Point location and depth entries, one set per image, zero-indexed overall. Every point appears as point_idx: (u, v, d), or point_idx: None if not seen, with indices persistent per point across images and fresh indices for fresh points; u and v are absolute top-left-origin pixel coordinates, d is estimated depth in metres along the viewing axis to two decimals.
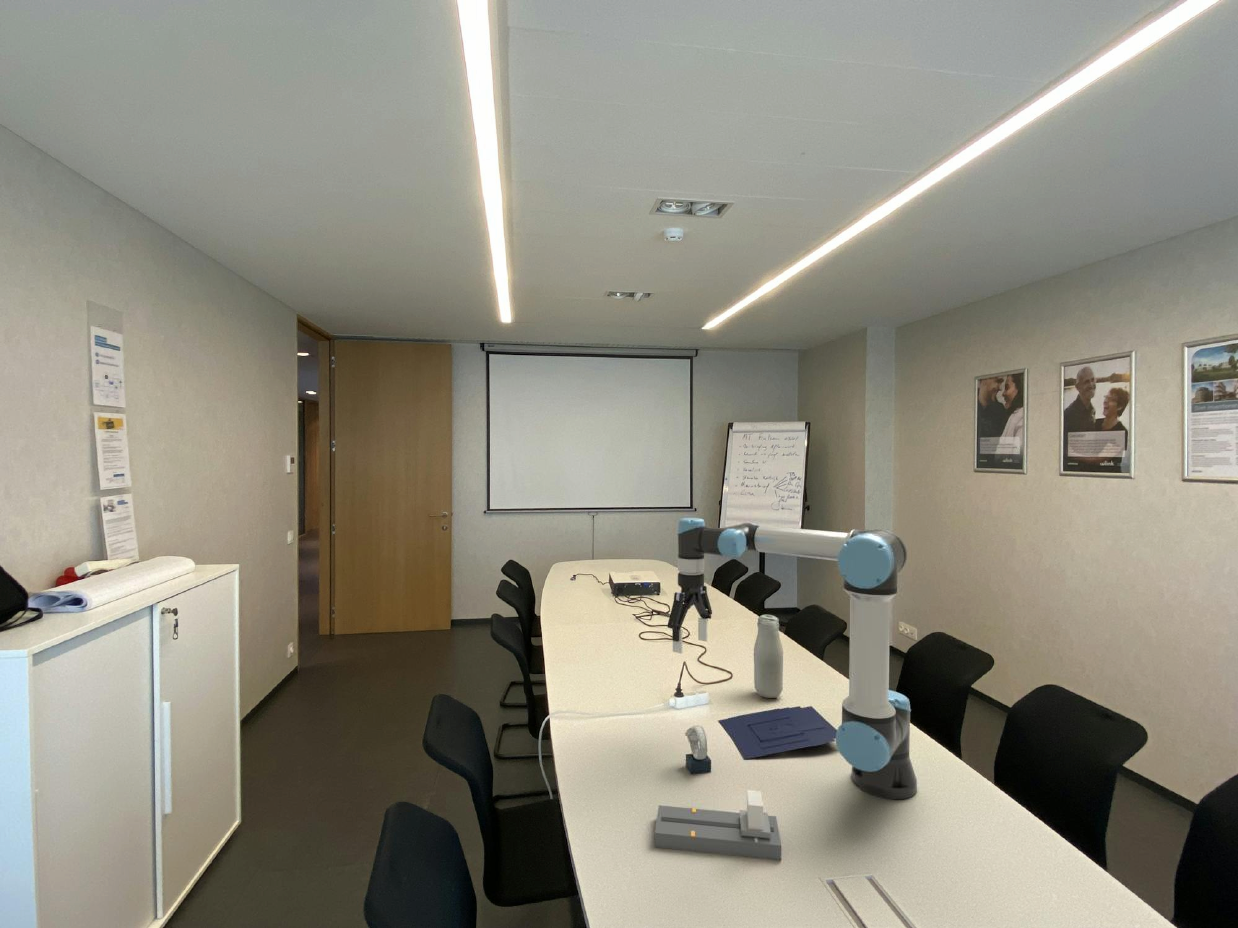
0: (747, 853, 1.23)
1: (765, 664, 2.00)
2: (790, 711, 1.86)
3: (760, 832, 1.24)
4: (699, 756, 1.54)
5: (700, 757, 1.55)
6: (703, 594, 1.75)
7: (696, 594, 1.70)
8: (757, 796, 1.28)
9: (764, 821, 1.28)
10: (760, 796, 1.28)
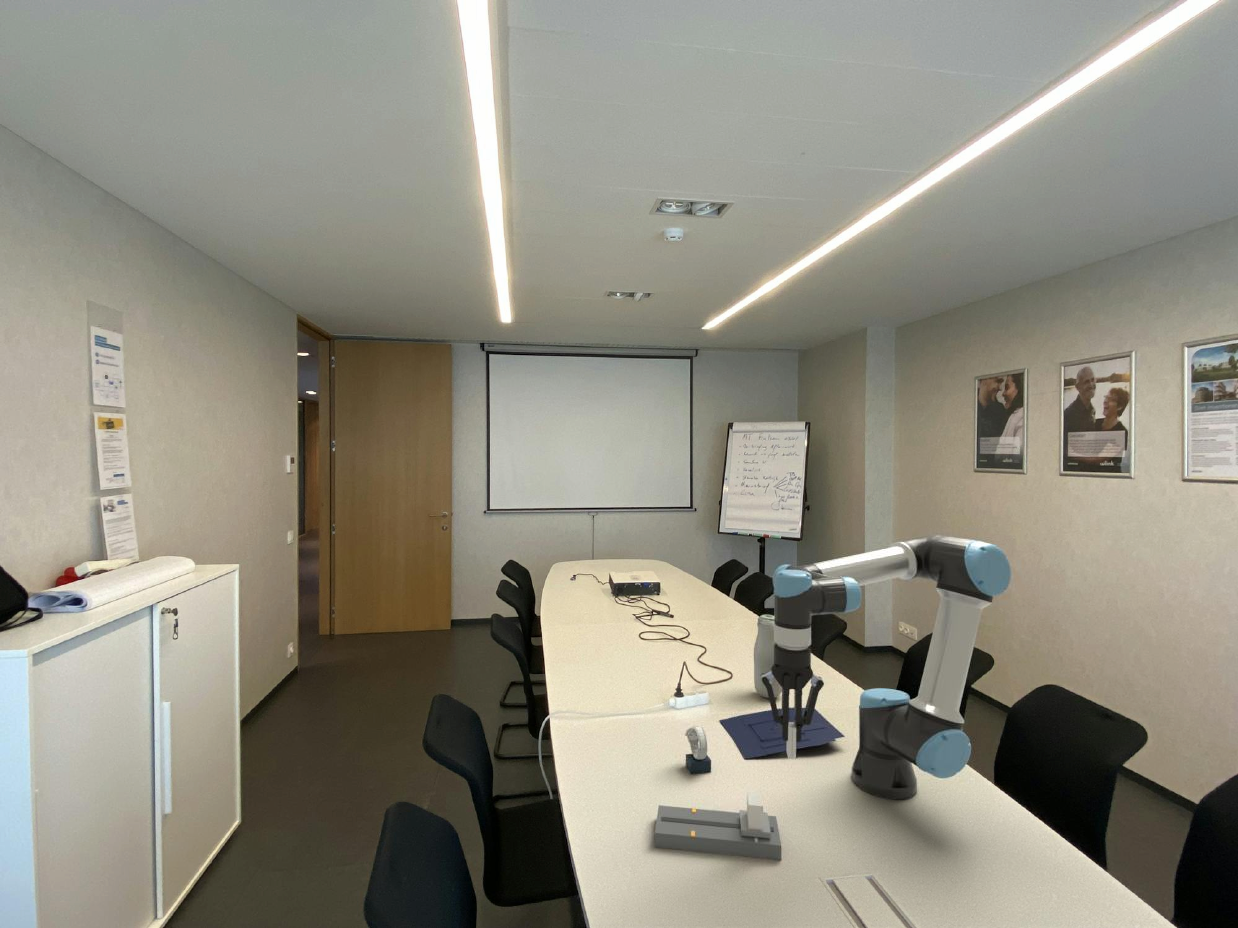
0: (747, 853, 1.23)
1: (765, 664, 2.00)
2: (791, 711, 1.86)
3: (760, 832, 1.24)
4: (699, 756, 1.54)
5: (700, 757, 1.55)
6: (813, 688, 1.25)
7: (797, 675, 1.24)
8: (757, 796, 1.28)
9: (764, 821, 1.28)
10: (760, 796, 1.28)
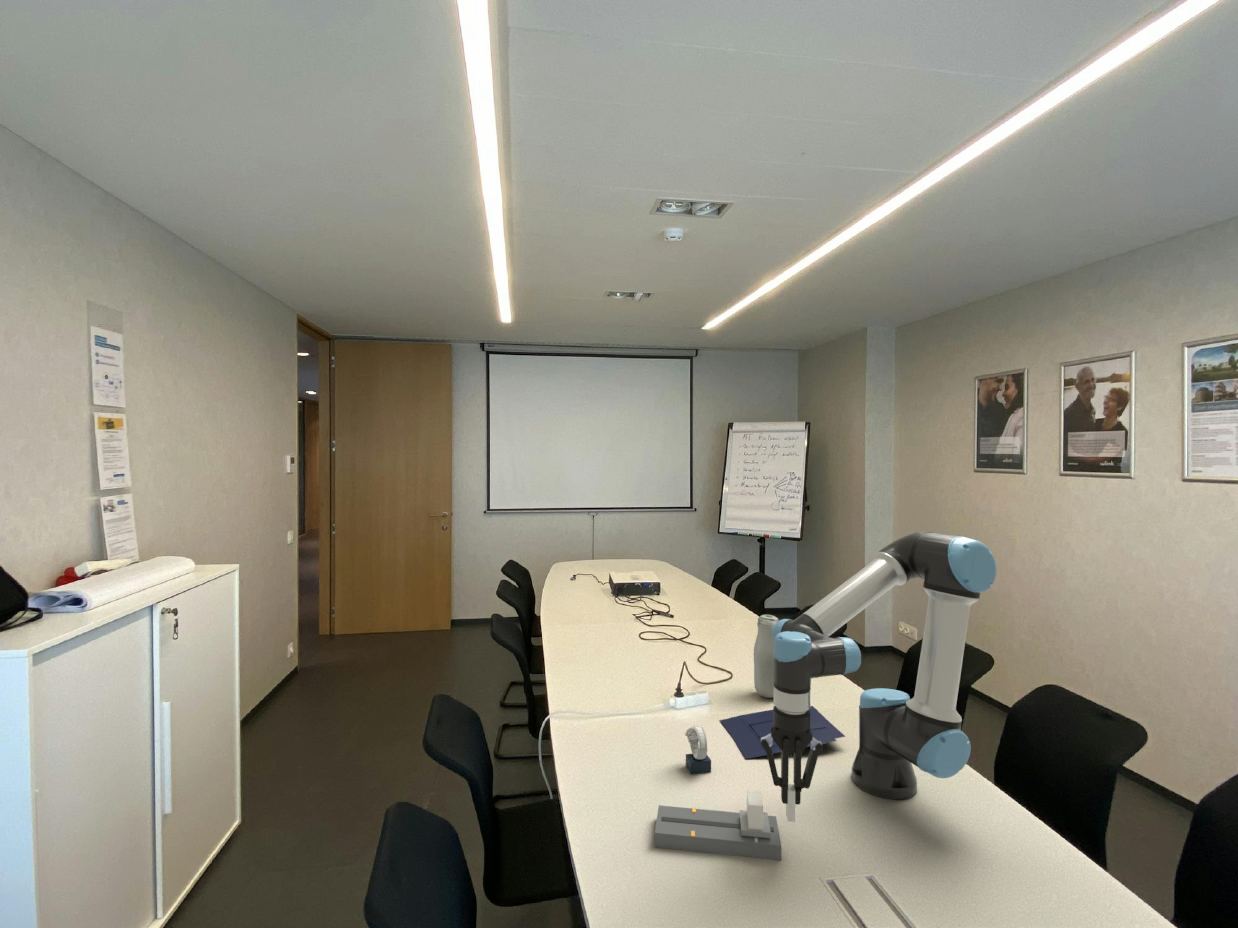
0: (747, 853, 1.23)
1: (765, 664, 2.00)
2: None
3: (760, 832, 1.24)
4: (699, 756, 1.54)
5: (700, 757, 1.55)
6: (812, 751, 1.25)
7: (796, 738, 1.25)
8: (757, 796, 1.28)
9: (764, 821, 1.28)
10: (760, 796, 1.28)
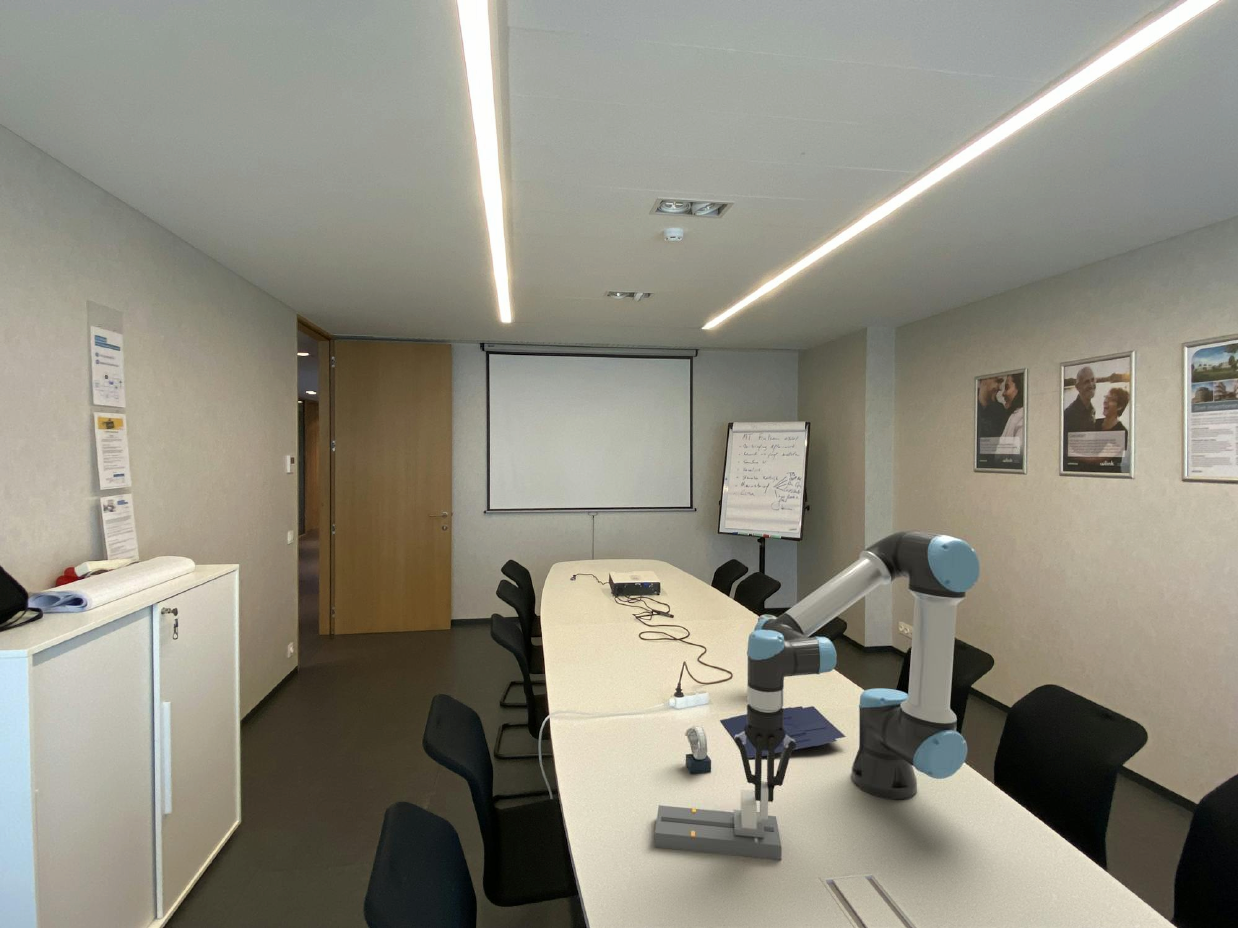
0: (747, 853, 1.23)
1: None
2: (791, 711, 1.86)
3: (753, 831, 1.24)
4: (699, 756, 1.54)
5: (700, 757, 1.55)
6: (785, 749, 1.26)
7: (769, 736, 1.25)
8: (750, 796, 1.28)
9: (758, 820, 1.28)
10: (754, 795, 1.28)
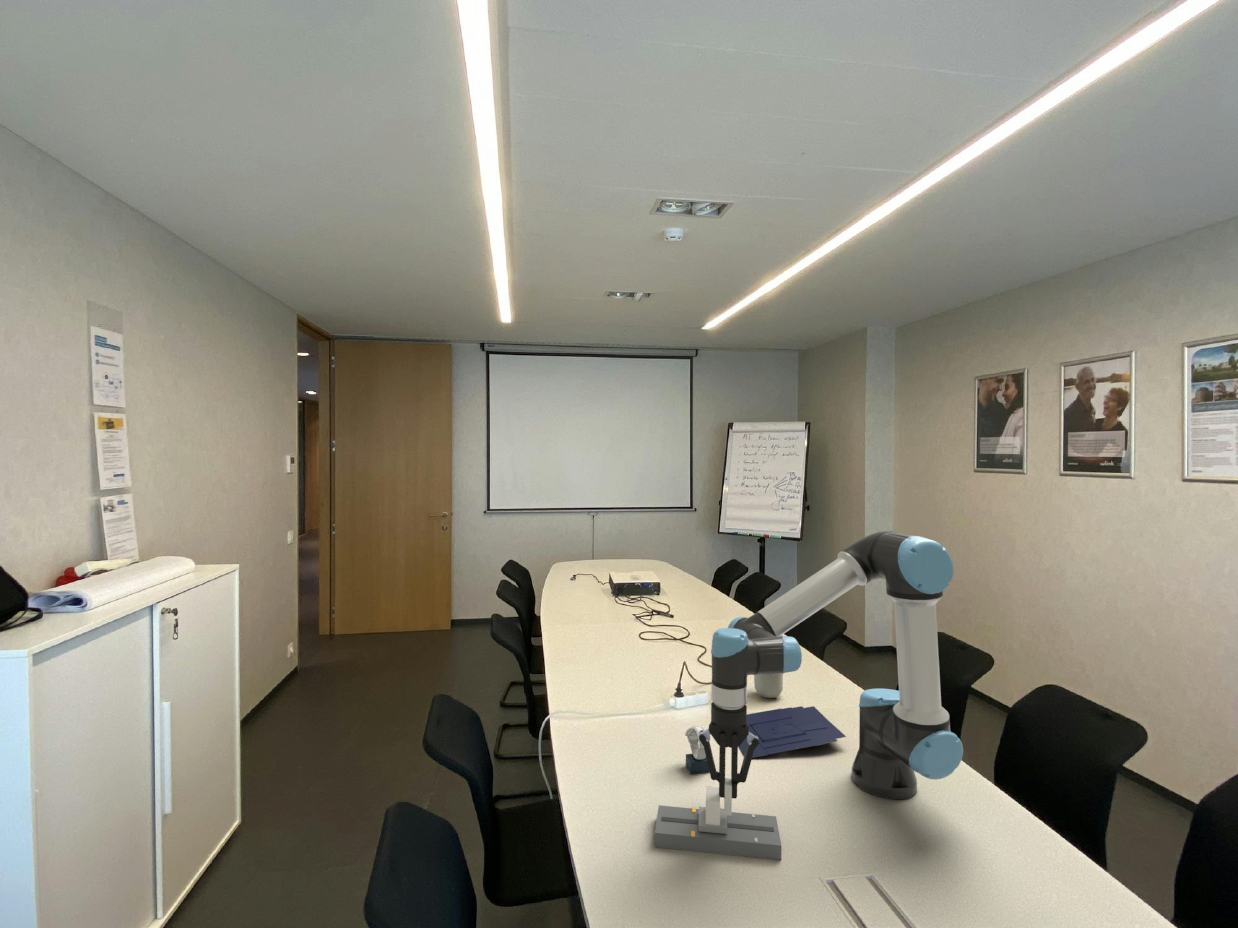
0: (747, 853, 1.23)
1: None
2: (792, 711, 1.86)
3: (717, 828, 1.25)
4: (699, 756, 1.54)
5: (700, 757, 1.55)
6: (748, 746, 1.27)
7: (733, 733, 1.27)
8: (715, 793, 1.29)
9: (722, 817, 1.29)
10: (718, 792, 1.30)
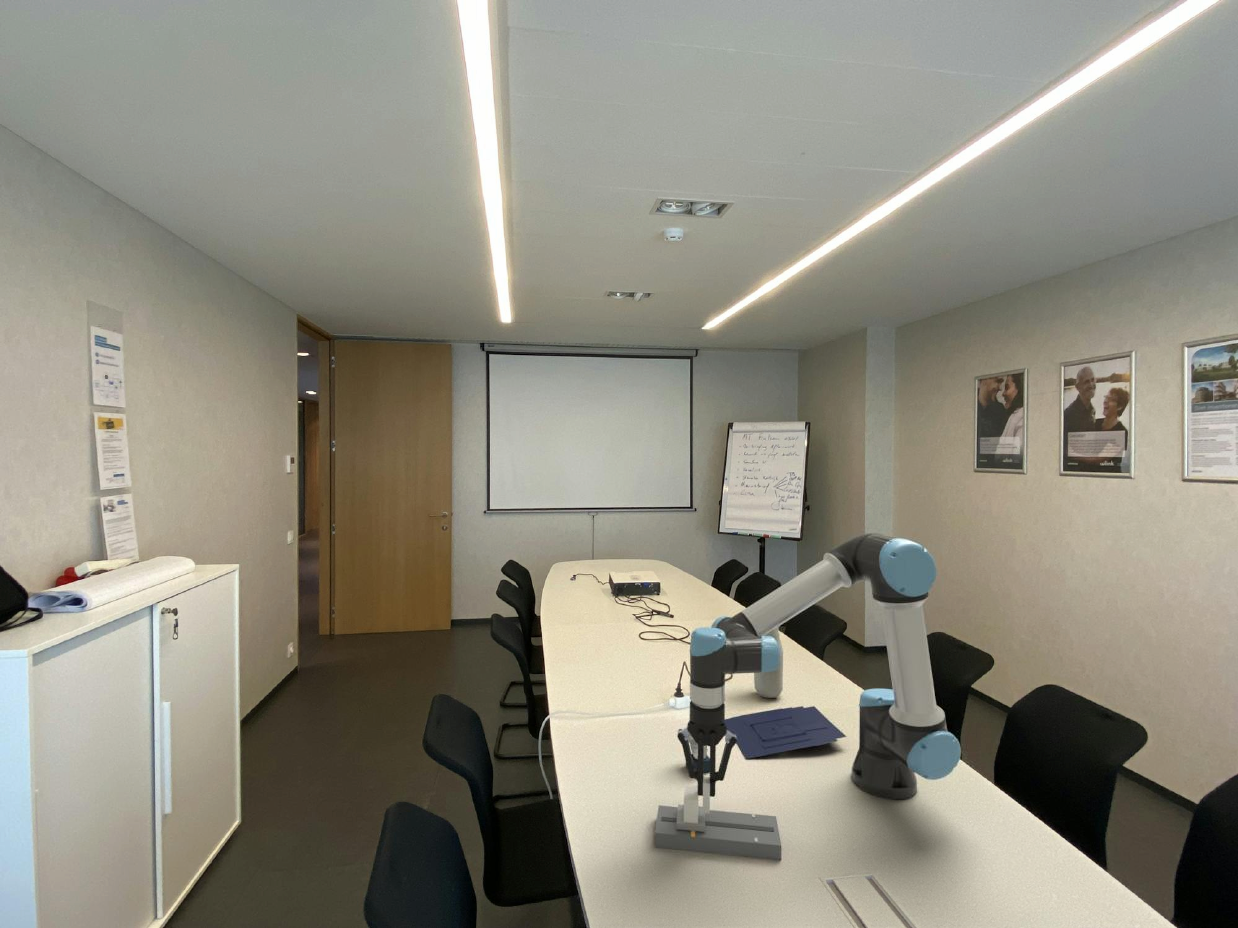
0: (747, 853, 1.23)
1: None
2: (792, 711, 1.86)
3: (695, 826, 1.26)
4: None
5: None
6: (726, 744, 1.28)
7: (711, 732, 1.27)
8: (693, 791, 1.30)
9: (700, 815, 1.30)
10: (697, 790, 1.30)
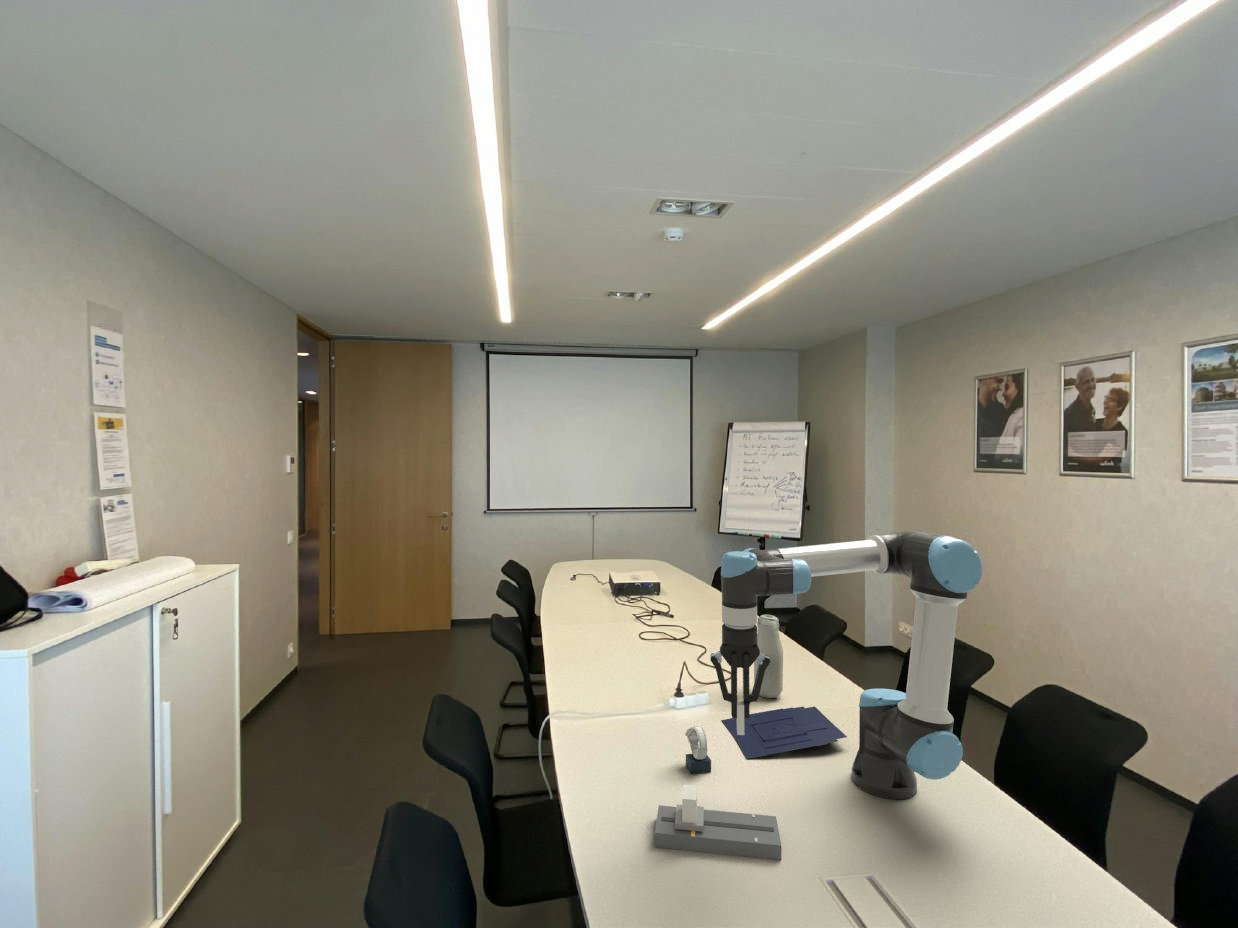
0: (747, 853, 1.23)
1: None
2: (793, 711, 1.86)
3: (693, 825, 1.26)
4: (699, 756, 1.54)
5: (700, 757, 1.55)
6: (760, 666, 1.28)
7: (744, 653, 1.28)
8: (692, 790, 1.30)
9: (699, 815, 1.30)
10: (695, 790, 1.30)
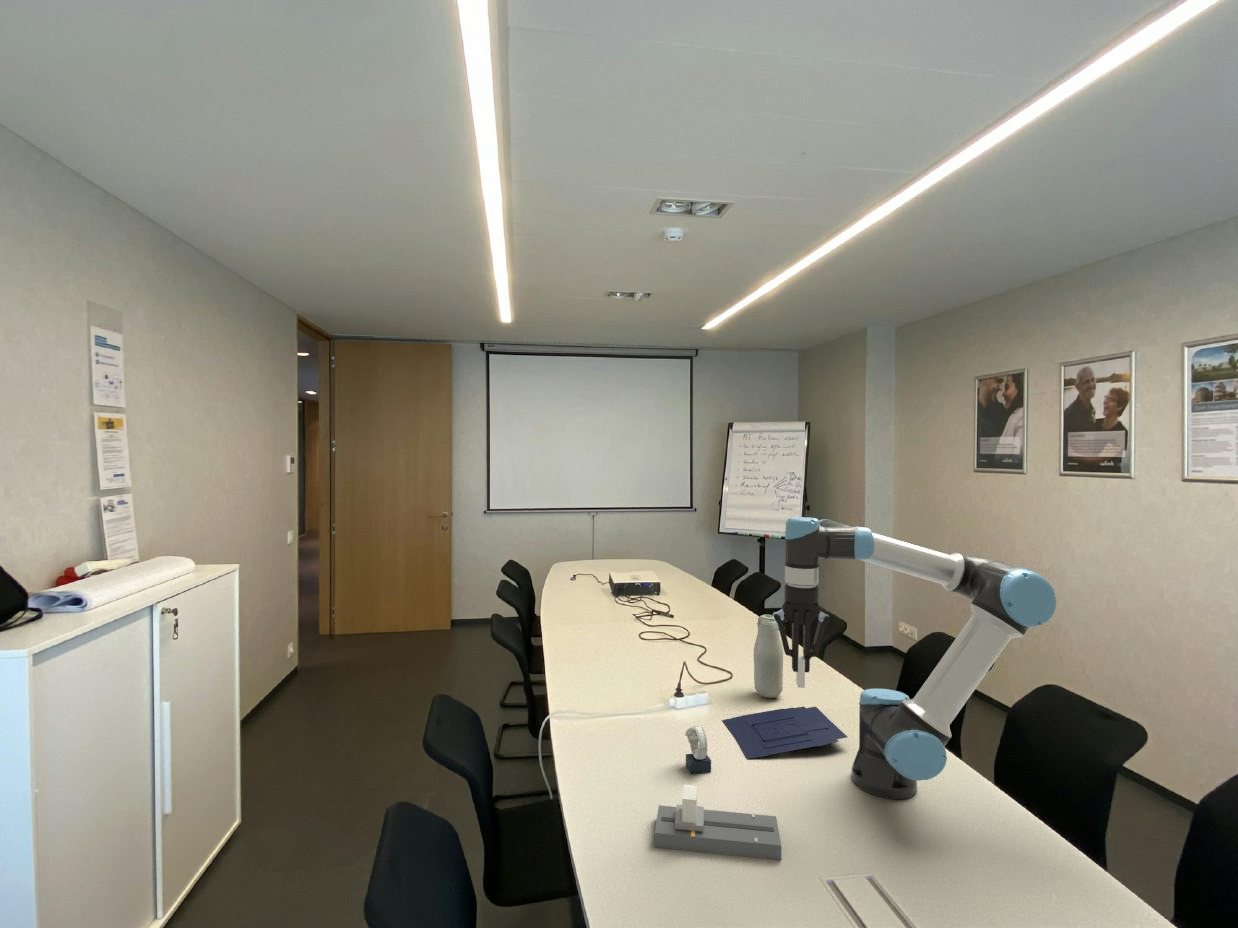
0: (747, 853, 1.23)
1: (765, 664, 2.00)
2: (794, 711, 1.86)
3: (693, 825, 1.26)
4: (699, 756, 1.54)
5: (700, 757, 1.55)
6: (820, 623, 1.37)
7: (806, 611, 1.37)
8: (692, 790, 1.30)
9: (699, 815, 1.30)
10: (695, 790, 1.30)
